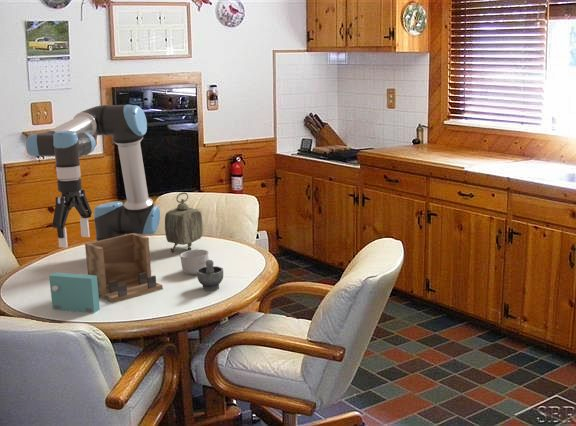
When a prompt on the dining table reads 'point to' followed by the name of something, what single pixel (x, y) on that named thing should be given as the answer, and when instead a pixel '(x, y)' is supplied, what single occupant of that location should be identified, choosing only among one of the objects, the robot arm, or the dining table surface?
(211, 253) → the dining table surface
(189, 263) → the teacup
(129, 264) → the cabinet
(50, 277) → the door
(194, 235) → the tabletop clock
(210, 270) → the mortar and pestle
